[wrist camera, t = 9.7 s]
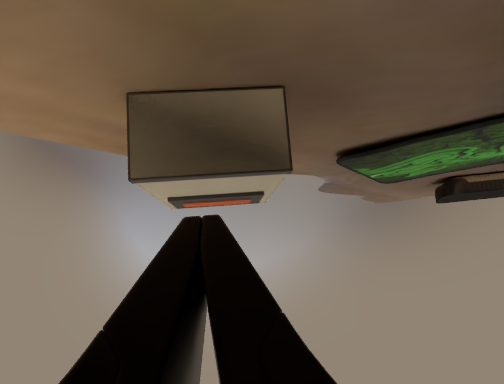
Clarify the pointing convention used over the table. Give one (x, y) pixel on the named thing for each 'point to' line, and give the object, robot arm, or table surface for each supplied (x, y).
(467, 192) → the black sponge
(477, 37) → the table surface
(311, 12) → the table surface
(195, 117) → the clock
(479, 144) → the mouse mat
